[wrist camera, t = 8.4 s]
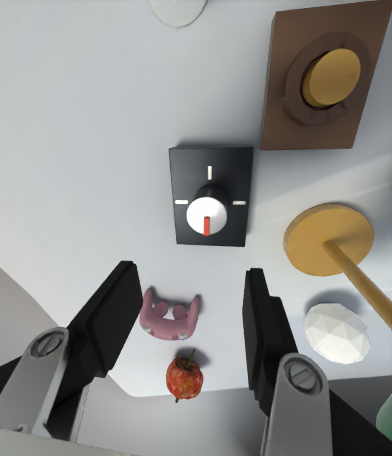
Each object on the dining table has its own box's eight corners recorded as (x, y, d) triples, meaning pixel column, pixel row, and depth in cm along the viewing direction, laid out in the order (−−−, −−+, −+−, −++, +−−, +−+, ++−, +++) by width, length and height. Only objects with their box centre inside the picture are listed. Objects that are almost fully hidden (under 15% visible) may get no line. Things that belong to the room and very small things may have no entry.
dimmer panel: (174, 146, 24) (168, 148, 21) (250, 144, 23) (254, 146, 20) (181, 234, 29) (176, 244, 26) (243, 236, 28) (245, 247, 25)
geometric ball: (308, 305, 35) (293, 348, 31) (318, 283, 30) (302, 332, 26) (360, 330, 31) (350, 382, 27) (384, 310, 26) (376, 373, 22)
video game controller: (149, 294, 38) (136, 335, 34) (144, 285, 34) (129, 330, 30) (199, 303, 37) (193, 346, 33) (201, 296, 33) (194, 343, 29)
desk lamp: (290, 203, 25) (519, 455, 5) (377, 204, 24) (1097, 545, 4) (278, 267, 29) (383, 536, 10) (351, 271, 28) (644, 593, 8)
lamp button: (306, 58, 17) (315, 50, 15) (354, 54, 16) (367, 46, 15) (298, 108, 18) (305, 105, 17) (341, 105, 18) (352, 103, 16)
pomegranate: (176, 335, 43) (154, 382, 41) (184, 353, 36) (158, 411, 34) (205, 347, 45) (185, 392, 43) (218, 367, 38) (194, 422, 36)
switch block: (271, 21, 18) (281, -2, 15) (380, 9, 17) (416, -19, 14) (259, 149, 23) (264, 151, 20) (343, 147, 22) (363, 149, 19)
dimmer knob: (192, 185, 23) (184, 197, 18) (227, 185, 22) (228, 198, 18) (193, 217, 24) (186, 235, 20) (226, 218, 24) (226, 236, 20)
